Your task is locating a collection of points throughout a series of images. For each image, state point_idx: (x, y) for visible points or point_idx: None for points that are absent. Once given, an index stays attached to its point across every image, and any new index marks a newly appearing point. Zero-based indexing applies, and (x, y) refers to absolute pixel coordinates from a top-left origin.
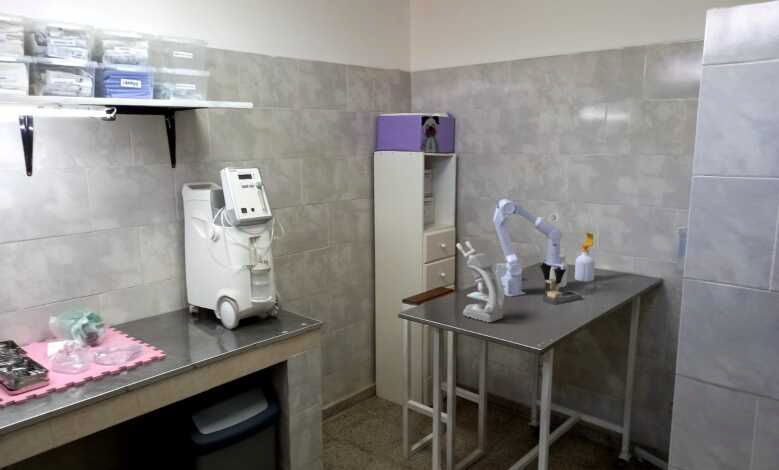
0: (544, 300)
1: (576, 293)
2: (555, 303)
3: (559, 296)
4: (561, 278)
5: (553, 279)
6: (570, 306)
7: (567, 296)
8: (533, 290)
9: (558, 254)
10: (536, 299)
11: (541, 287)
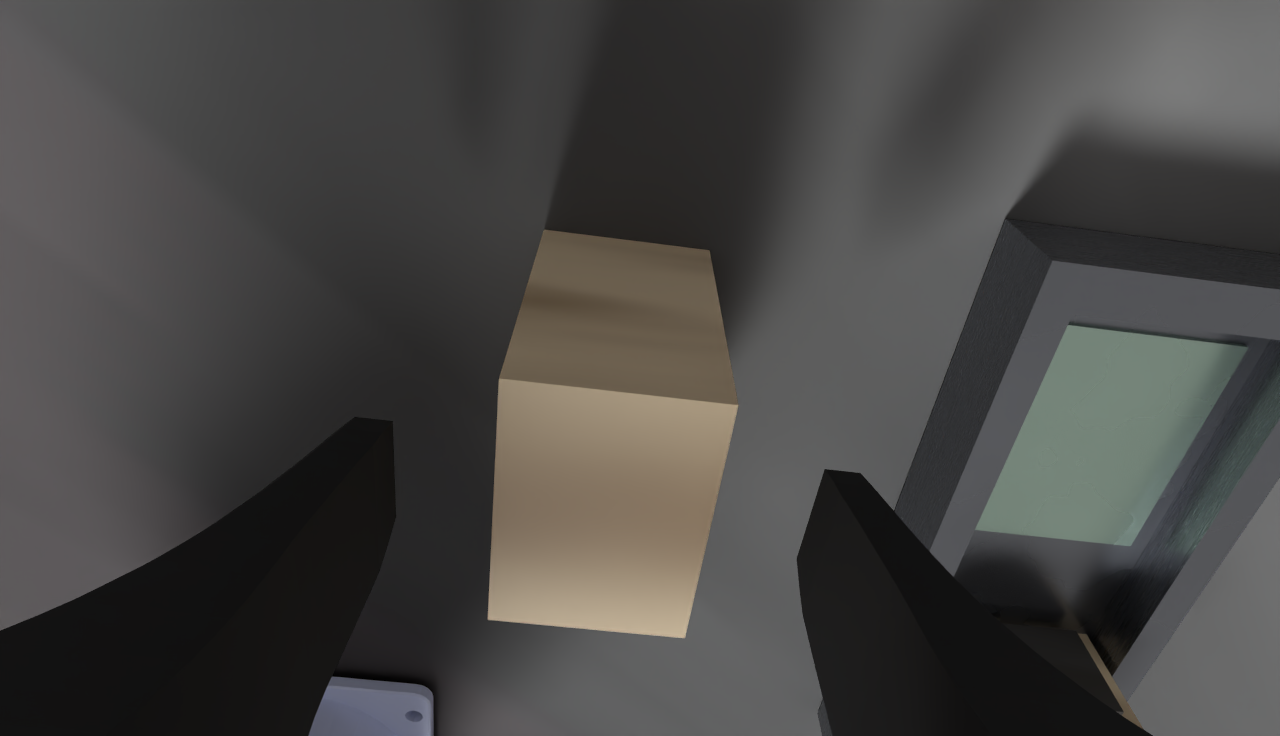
0: None
1: (1265, 338)
2: None
3: None
4: (929, 570)
5: (556, 447)
6: (1270, 657)
7: (1176, 594)
8: None
9: None
10: (720, 731)
11: (173, 212)
